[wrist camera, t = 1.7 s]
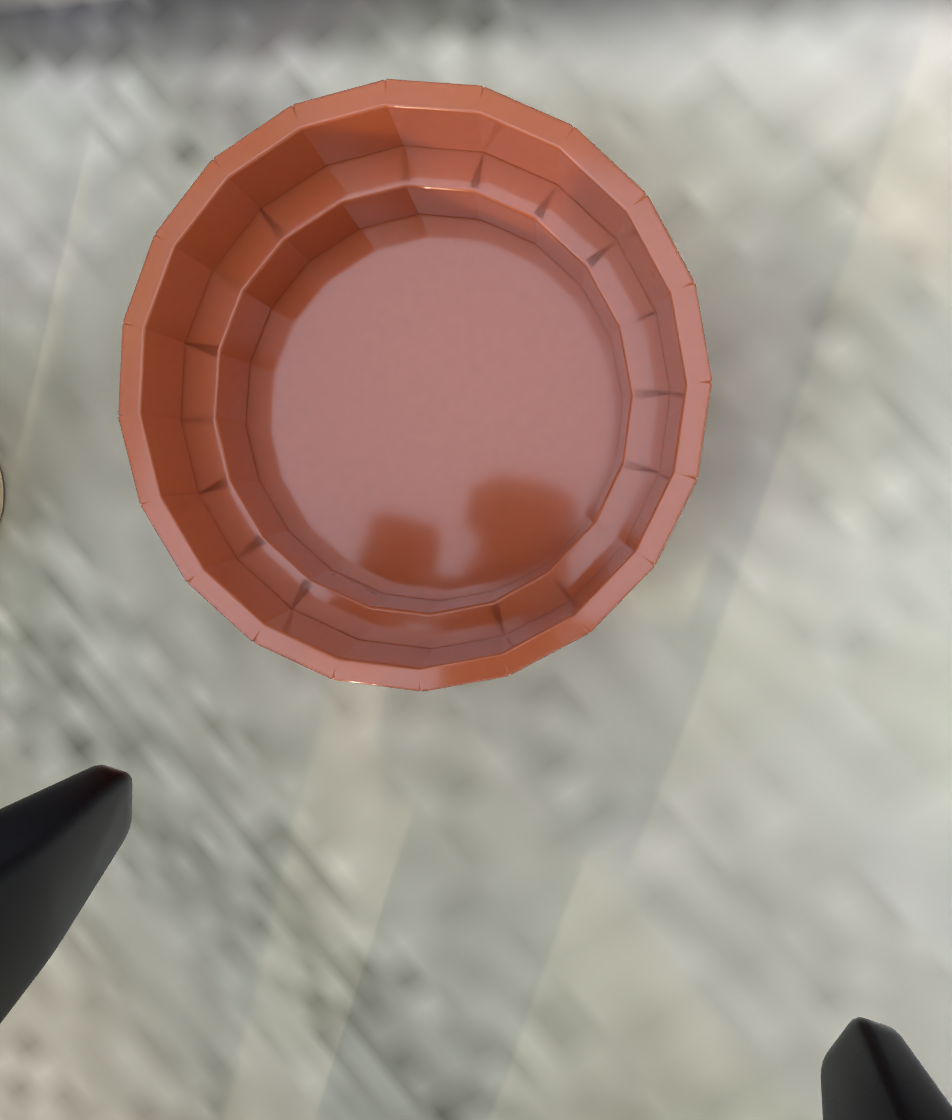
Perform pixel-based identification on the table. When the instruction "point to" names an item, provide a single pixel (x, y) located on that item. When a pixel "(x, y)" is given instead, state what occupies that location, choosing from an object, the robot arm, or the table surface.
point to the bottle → (1, 494)
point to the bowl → (414, 384)
